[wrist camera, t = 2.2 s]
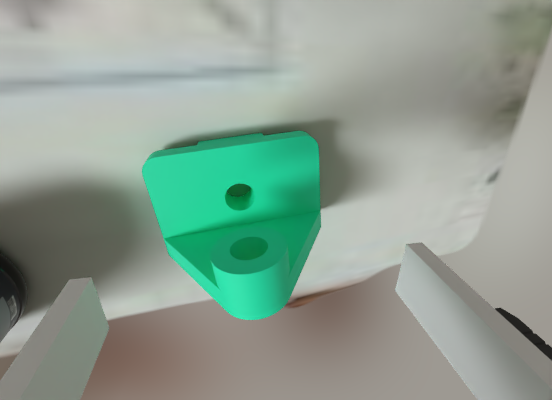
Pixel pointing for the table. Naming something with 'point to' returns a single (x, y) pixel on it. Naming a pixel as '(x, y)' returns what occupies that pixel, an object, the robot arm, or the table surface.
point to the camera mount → (239, 215)
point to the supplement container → (10, 295)
